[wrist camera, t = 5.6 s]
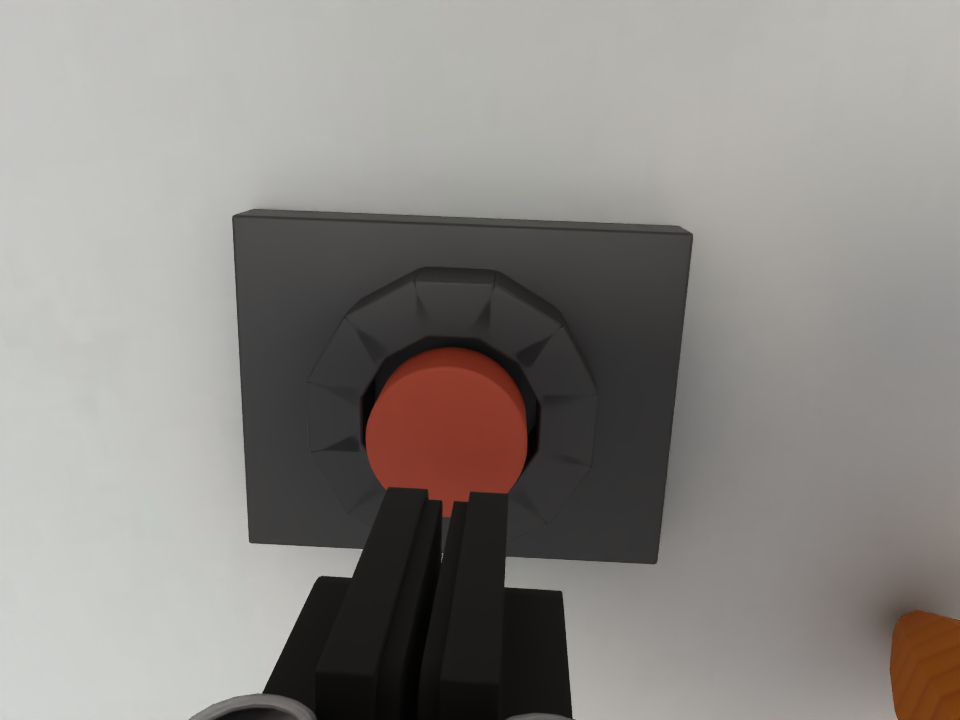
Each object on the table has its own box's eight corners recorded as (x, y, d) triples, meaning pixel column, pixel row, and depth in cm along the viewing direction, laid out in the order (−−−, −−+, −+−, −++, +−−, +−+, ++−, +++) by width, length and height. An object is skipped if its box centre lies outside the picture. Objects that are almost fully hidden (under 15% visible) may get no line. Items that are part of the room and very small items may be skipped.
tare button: (530, 349, 16) (532, 371, 15) (522, 489, 17) (523, 523, 16) (377, 342, 17) (364, 363, 15) (377, 482, 17) (365, 514, 16)
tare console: (680, 225, 18) (712, 243, 15) (648, 537, 20) (670, 603, 17) (251, 208, 18) (202, 222, 16) (265, 517, 21) (225, 579, 18)
